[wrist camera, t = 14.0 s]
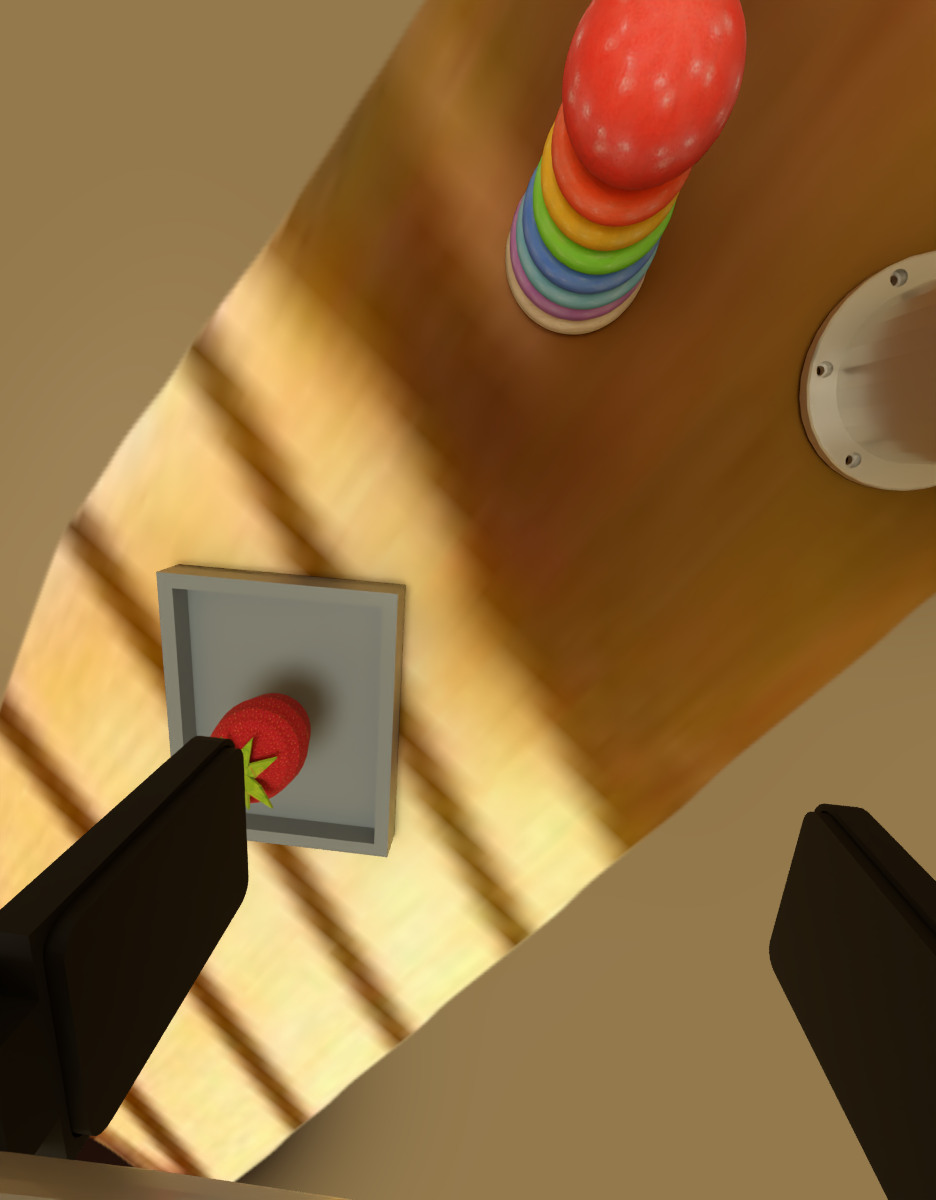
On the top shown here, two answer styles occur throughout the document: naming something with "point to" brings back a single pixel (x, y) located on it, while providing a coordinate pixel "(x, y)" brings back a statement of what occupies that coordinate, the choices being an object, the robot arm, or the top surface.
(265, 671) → the tray
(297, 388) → the top surface
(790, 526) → the top surface
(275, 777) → the strawberry
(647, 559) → the top surface
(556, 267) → the stacking toy
